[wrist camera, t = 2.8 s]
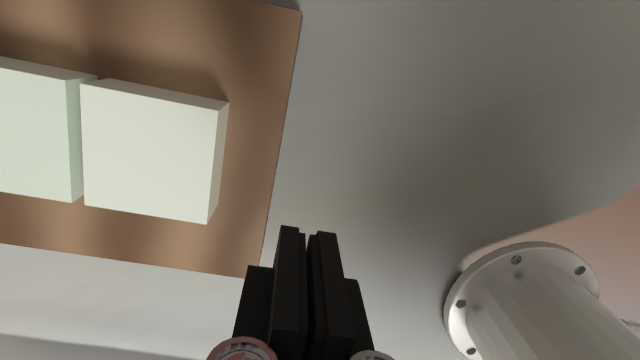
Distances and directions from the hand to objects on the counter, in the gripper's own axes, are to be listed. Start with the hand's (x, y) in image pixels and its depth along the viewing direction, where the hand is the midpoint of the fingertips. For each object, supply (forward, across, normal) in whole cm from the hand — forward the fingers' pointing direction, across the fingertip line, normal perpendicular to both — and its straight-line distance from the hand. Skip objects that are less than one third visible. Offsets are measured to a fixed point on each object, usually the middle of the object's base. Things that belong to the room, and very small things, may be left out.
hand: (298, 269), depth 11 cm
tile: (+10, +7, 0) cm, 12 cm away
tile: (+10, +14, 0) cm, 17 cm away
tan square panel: (+14, +9, 0) cm, 17 cm away
